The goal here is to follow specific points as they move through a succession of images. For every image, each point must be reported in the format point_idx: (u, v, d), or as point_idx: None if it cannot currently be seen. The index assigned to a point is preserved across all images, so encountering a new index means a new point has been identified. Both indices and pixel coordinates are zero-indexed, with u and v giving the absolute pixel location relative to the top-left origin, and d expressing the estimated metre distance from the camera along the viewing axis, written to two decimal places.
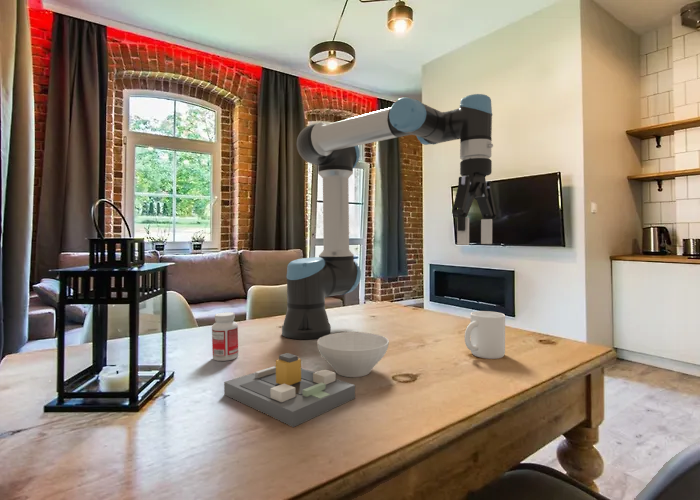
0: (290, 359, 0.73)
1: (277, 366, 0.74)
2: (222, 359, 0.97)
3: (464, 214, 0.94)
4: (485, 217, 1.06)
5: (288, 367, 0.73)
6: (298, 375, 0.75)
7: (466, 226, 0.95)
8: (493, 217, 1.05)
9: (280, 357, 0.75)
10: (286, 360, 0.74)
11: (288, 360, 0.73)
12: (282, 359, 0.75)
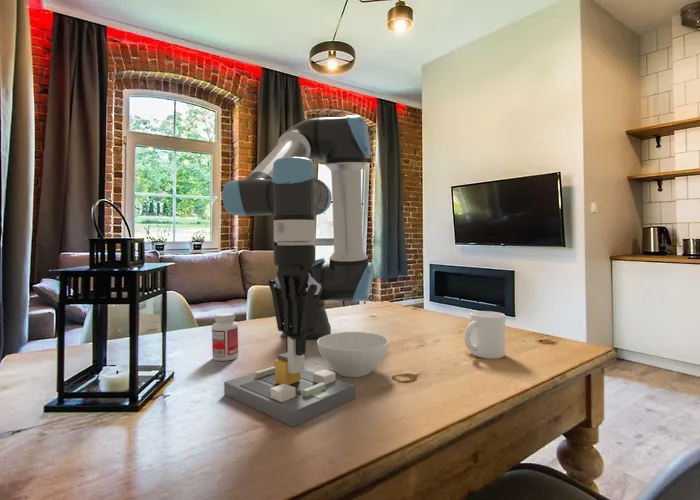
0: None
1: (276, 366, 0.75)
2: (222, 359, 0.97)
3: None
4: None
5: (287, 367, 0.73)
6: (297, 375, 0.75)
7: None
8: (292, 335, 0.72)
9: (279, 357, 0.75)
10: (285, 359, 0.74)
11: (287, 359, 0.74)
12: (281, 359, 0.75)
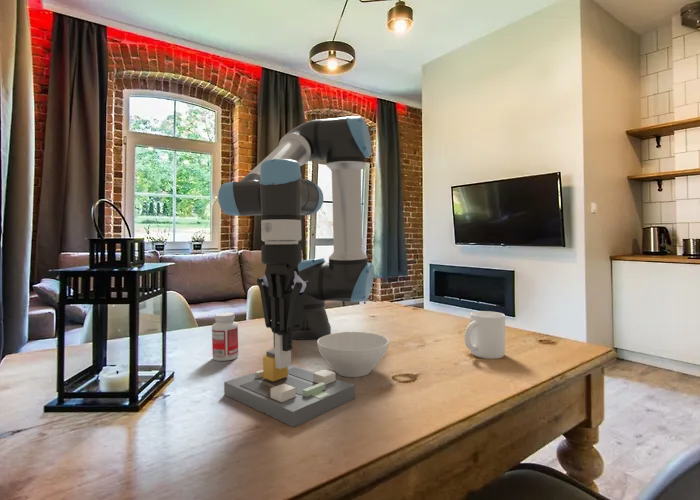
0: None
1: (264, 362, 0.77)
2: (222, 359, 0.97)
3: None
4: None
5: (274, 363, 0.76)
6: (285, 371, 0.78)
7: None
8: (279, 331, 0.74)
9: (267, 353, 0.78)
10: (273, 356, 0.76)
11: None
12: (269, 355, 0.77)
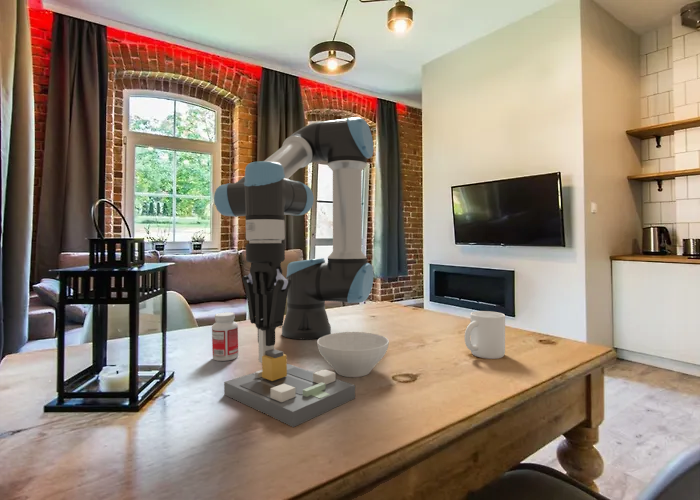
0: (275, 354, 0.76)
1: (263, 361, 0.77)
2: (222, 359, 0.97)
3: None
4: None
5: (273, 363, 0.76)
6: (284, 370, 0.78)
7: None
8: (262, 327, 0.77)
9: (266, 353, 0.78)
10: (272, 355, 0.77)
11: (274, 355, 0.76)
12: (268, 355, 0.77)
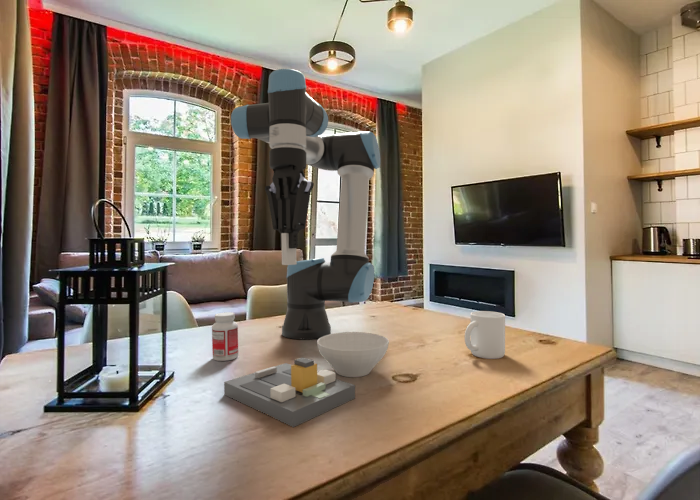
0: (306, 364, 0.70)
1: (293, 371, 0.71)
2: (222, 359, 0.97)
3: None
4: None
5: (304, 373, 0.70)
6: (314, 380, 0.72)
7: None
8: (286, 229, 0.81)
9: (295, 362, 0.72)
10: (302, 365, 0.71)
11: (304, 365, 0.71)
12: (298, 364, 0.72)
